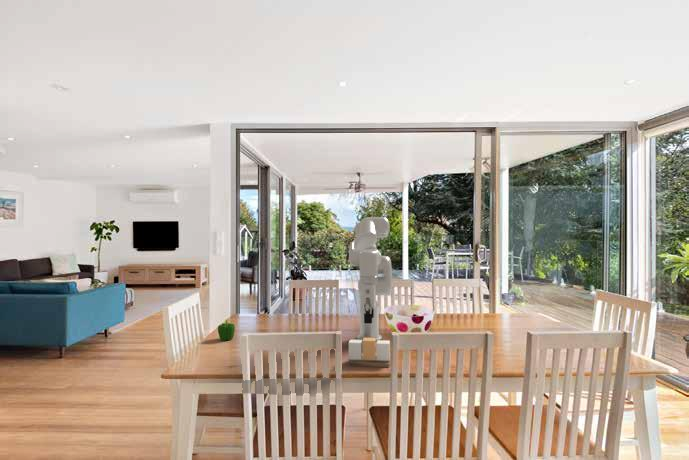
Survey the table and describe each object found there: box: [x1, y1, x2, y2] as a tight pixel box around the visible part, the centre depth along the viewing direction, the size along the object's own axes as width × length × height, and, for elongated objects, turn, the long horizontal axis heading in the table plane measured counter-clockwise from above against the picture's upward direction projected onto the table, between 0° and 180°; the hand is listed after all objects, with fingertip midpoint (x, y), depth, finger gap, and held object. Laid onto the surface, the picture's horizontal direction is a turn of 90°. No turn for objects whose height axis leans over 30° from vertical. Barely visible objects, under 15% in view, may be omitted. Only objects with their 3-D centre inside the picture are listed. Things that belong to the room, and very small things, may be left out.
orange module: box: [362, 338, 377, 360], centre depth 178 cm, size 5×5×8 cm
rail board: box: [347, 339, 391, 368], centre depth 178 cm, size 10×17×9 cm, turn 82°
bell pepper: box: [217, 319, 236, 341], centre depth 218 cm, size 8×8×10 cm
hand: (369, 320), depth 178 cm, fingers open, 9 cm apart
